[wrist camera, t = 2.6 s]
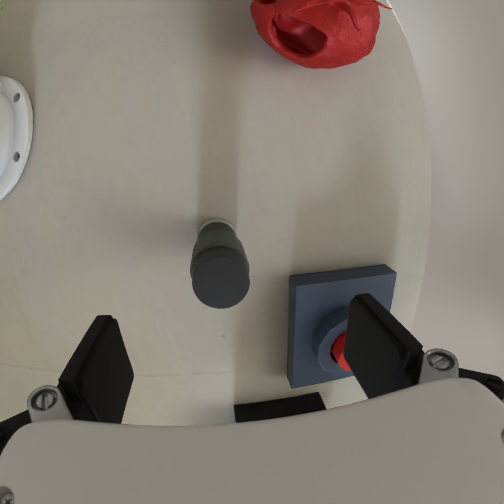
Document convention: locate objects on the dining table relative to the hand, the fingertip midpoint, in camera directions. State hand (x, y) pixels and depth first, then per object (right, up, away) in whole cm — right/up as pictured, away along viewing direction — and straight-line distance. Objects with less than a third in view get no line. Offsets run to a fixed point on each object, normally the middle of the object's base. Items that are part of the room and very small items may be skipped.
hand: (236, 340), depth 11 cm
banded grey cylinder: (-2, +5, +13) cm, 14 cm away
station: (+9, -4, +17) cm, 20 cm away
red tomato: (+5, +22, +8) cm, 24 cm away
